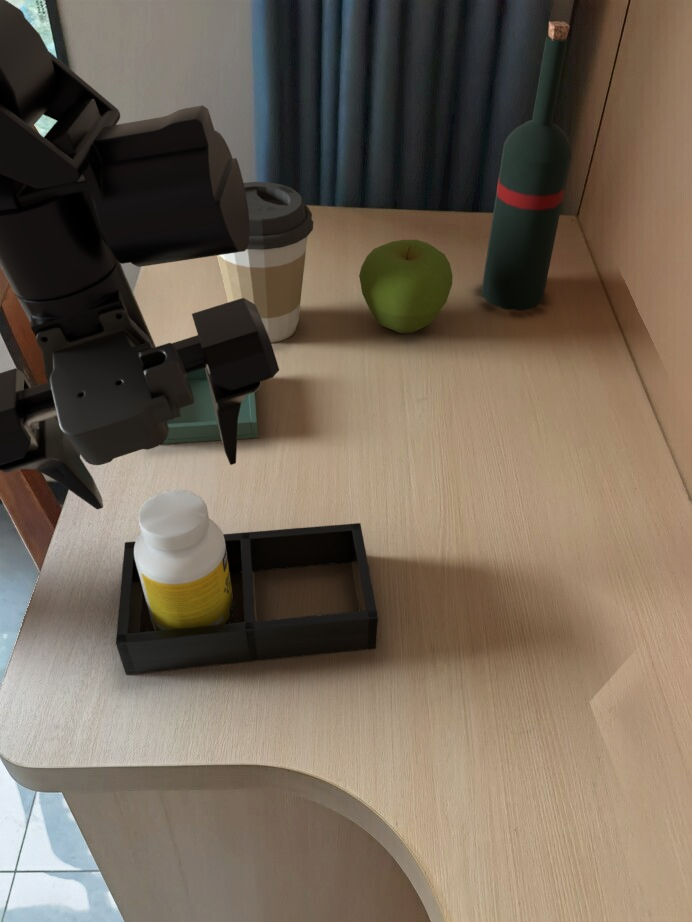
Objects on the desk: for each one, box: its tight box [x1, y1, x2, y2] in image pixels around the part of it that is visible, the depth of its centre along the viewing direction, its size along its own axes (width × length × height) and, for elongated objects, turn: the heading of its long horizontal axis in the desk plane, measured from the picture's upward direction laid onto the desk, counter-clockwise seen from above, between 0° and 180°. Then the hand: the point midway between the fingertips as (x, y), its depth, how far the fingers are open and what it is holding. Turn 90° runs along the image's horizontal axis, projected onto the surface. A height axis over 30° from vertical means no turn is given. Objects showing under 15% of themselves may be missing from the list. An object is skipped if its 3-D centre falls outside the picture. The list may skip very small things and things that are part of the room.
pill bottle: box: [134, 489, 235, 631], centre depth 59 cm, size 6×6×12 cm
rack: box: [115, 522, 379, 676], centre depth 63 cm, size 19×10×4 cm, turn 99°
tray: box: [161, 368, 259, 445], centre depth 81 cm, size 10×10×2 cm
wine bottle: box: [481, 21, 572, 311], centre depth 91 cm, size 8×10×30 cm
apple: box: [358, 239, 453, 334], centre depth 91 cm, size 11×10×10 cm
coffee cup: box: [216, 181, 314, 344], centre depth 88 cm, size 11×11×15 cm
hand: (166, 482), depth 54 cm, fingers open, 9 cm apart
